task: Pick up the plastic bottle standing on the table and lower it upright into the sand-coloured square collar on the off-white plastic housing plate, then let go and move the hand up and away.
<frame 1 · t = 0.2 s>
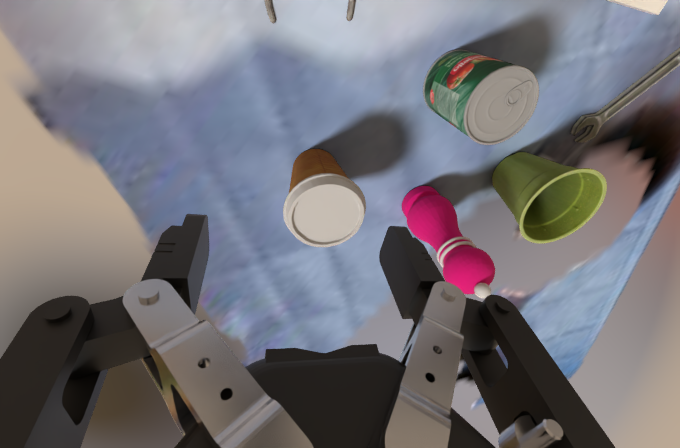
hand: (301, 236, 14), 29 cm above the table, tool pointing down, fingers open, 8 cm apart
pepper mill: (419, 201, 51), on the table
wrench: (633, 86, 46), on the table
disposable coffee cup: (314, 168, 44), on the table
plant pot: (510, 170, 51), on the table
canned tomato: (451, 83, 40), on the table
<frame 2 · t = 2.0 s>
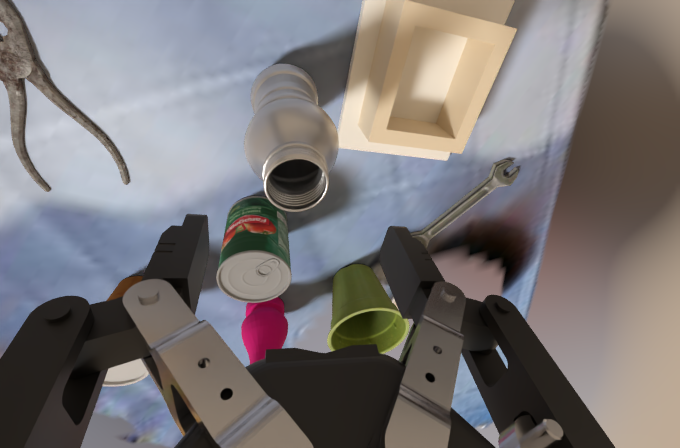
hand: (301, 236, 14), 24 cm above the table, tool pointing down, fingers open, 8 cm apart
pepper mill: (265, 305, 53), on the table
housing: (415, 75, 34), on the table
wrench: (453, 207, 48), on the table
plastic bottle: (284, 92, 33), on the table
disposable coffee cup: (142, 289, 46), on the table
plant pot: (352, 277, 53), on the table
canned tomato: (258, 219, 42), on the table
pliers: (30, 104, 30), on the table
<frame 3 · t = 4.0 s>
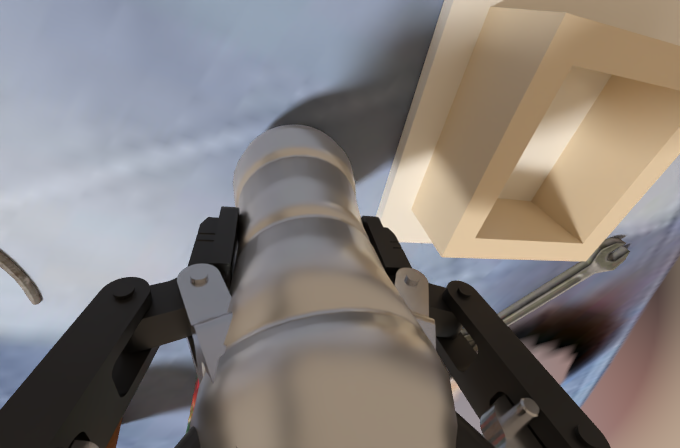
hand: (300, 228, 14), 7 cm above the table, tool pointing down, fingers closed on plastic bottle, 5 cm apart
housing: (509, 132, 21), on the table
wrench: (526, 295, 34), on the table
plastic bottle: (292, 163, 20), on the table, touching gripper
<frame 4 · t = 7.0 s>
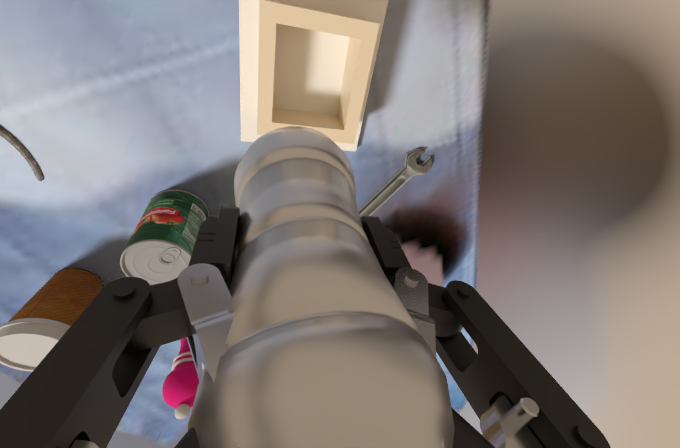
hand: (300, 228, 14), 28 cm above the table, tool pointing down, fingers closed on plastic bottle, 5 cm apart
pepper mill: (205, 295, 55), on the table
housing: (308, 69, 36), on the table
wrench: (376, 196, 50), on the table
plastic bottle: (293, 165, 20), point 21 cm above the table, touching gripper
disposable coffee cup: (79, 281, 49), on the table
canned tomato: (180, 211, 44), on the table
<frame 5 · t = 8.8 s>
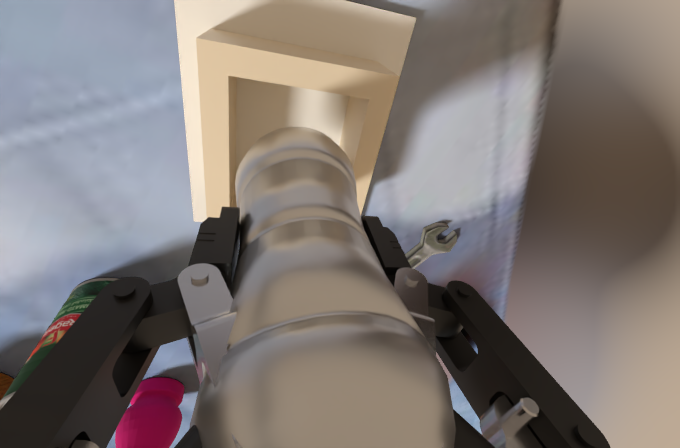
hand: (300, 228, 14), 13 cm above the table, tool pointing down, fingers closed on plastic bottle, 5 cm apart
pepper mill: (160, 387, 43), on the table
housing: (289, 128, 25), on the table
wrench: (382, 276, 38), on the table
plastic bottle: (294, 165, 20), point 7 cm above the table, touching gripper
canned tomato: (117, 301, 33), on the table
when the fingers open (9 cm above the table, at t = 10.2 s): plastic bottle drops 1 cm, resting on housing.
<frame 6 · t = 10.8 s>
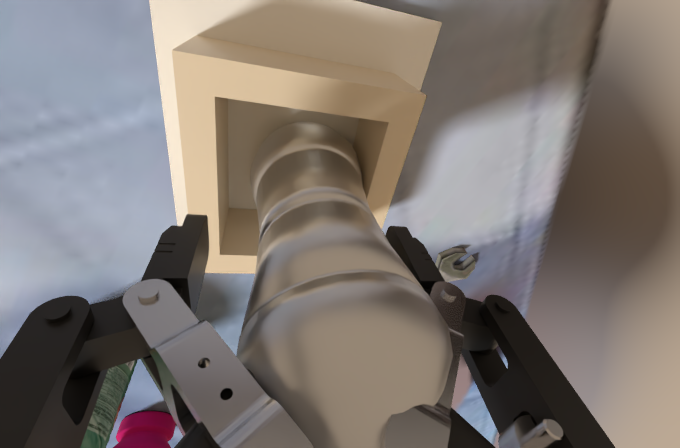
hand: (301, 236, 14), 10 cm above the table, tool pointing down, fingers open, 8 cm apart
pepper mill: (150, 420, 40), on the table
housing: (291, 149, 21), on the table
wrench: (391, 303, 35), on the table
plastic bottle: (303, 158, 21), point 1 cm above the table, touching housing
canned tomato: (97, 337, 29), on the table
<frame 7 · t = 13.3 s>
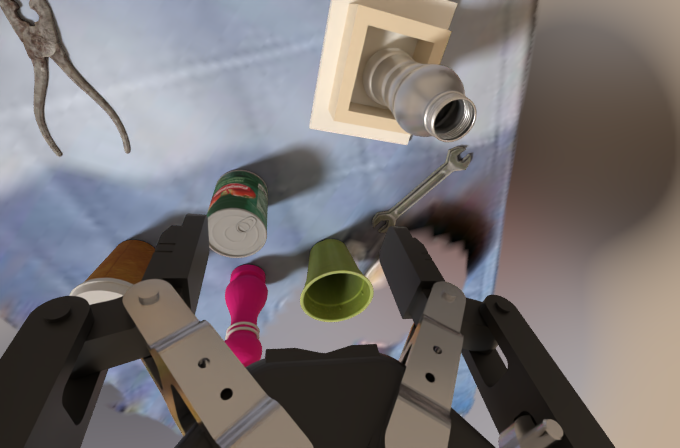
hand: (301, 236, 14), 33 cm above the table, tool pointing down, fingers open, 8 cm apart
pepper mill: (248, 275, 59), on the table
housing: (376, 69, 41), on the table
wrench: (417, 189, 54), on the table
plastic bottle: (383, 73, 41), point 1 cm above the table, touching housing
disposable coffee cup: (138, 253, 52), on the table
plant pot: (327, 251, 59), on the table
canned tomato: (242, 191, 49), on the table
pliers: (51, 80, 36), on the table
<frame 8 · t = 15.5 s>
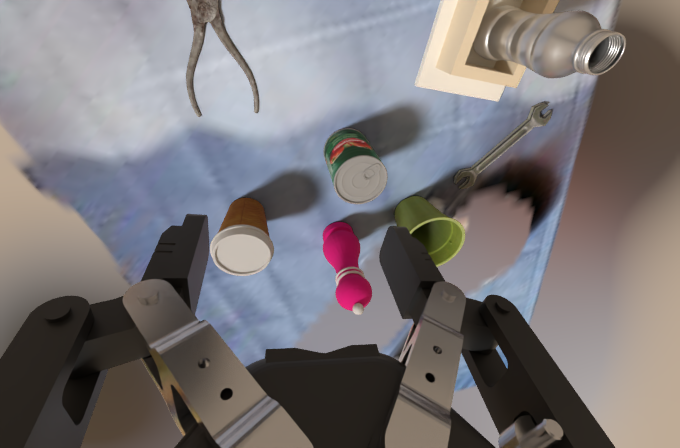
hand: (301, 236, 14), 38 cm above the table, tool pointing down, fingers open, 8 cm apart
pepper mill: (337, 233, 64), on the table
housing: (481, 28, 45), on the table
wrench: (497, 147, 59), on the table
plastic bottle: (488, 31, 45), point 1 cm above the table, touching housing
disposable coffee cup: (246, 211, 57), on the table
plant pot: (410, 209, 64), on the table
canned tomato: (346, 149, 53), on the table
pliers: (203, 44, 41), on the table
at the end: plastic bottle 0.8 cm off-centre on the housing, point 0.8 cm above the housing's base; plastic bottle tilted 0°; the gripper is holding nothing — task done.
